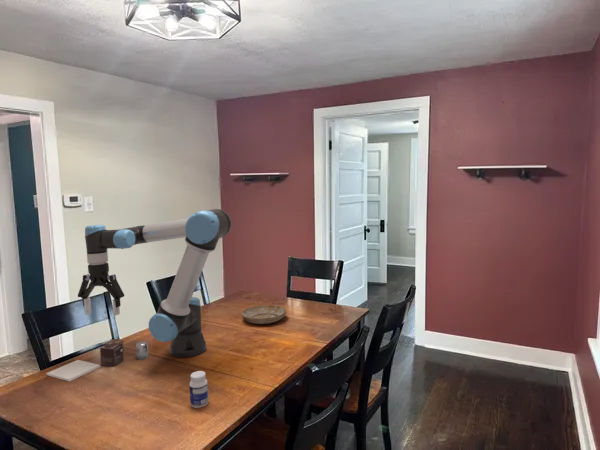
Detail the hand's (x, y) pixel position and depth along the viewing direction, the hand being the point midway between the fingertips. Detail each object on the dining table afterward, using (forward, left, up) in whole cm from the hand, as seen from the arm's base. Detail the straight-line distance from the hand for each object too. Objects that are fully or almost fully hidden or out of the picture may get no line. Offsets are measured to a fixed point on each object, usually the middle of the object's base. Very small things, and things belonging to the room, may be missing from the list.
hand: (102, 314), depth 167 cm
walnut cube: (+1, -6, -19) cm, 20 cm away
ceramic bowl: (-37, -67, -19) cm, 79 cm away
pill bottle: (-60, +13, -19) cm, 64 cm away
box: (-7, +2, -19) cm, 20 cm away
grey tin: (-14, -7, -19) cm, 24 cm away
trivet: (+1, +13, -19) cm, 23 cm away
